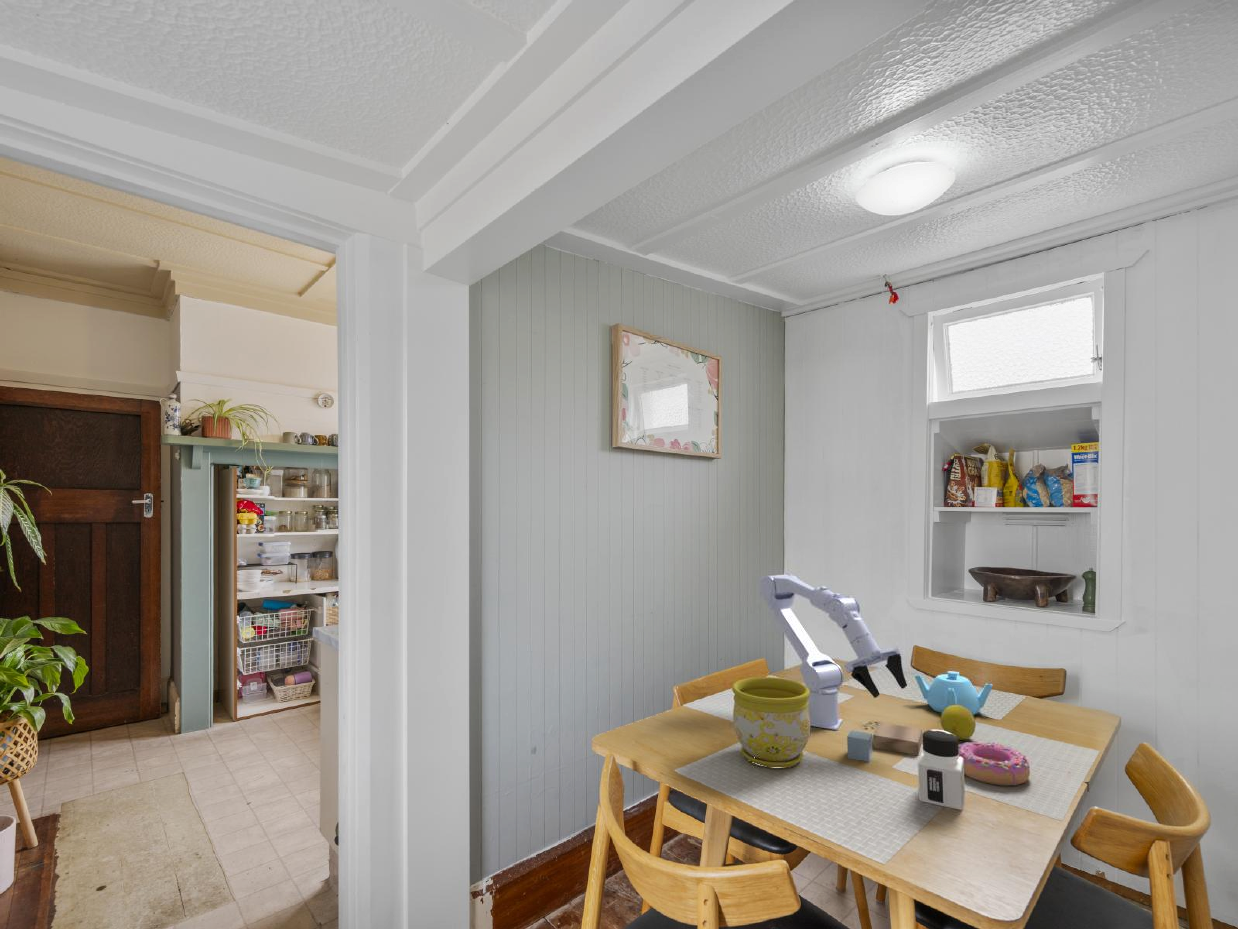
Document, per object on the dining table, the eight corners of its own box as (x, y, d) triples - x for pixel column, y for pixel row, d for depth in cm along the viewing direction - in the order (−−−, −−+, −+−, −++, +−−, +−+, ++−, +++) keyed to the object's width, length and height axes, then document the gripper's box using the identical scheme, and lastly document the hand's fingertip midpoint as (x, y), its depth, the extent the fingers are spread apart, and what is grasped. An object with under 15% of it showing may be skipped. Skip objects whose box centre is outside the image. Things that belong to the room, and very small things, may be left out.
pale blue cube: (847, 758, 148) (847, 736, 149) (851, 751, 152) (850, 730, 153) (869, 762, 146) (868, 740, 146) (872, 755, 150) (871, 733, 150)
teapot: (998, 717, 175) (996, 677, 176) (951, 721, 172) (950, 681, 172) (957, 700, 190) (955, 663, 191) (913, 704, 187) (912, 667, 187)
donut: (943, 761, 147) (942, 739, 147) (1006, 761, 146) (1005, 739, 146) (976, 789, 132) (975, 765, 132) (1045, 790, 132) (1044, 765, 132)
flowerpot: (826, 771, 141) (824, 696, 142) (749, 777, 138) (748, 701, 139) (791, 740, 159) (789, 674, 160) (723, 746, 156) (721, 678, 157)
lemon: (970, 748, 153) (969, 714, 154) (936, 740, 159) (934, 707, 159) (981, 735, 161) (980, 704, 162) (948, 728, 167) (947, 697, 167)
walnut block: (873, 747, 154) (873, 735, 154) (879, 734, 163) (878, 722, 163) (918, 755, 149) (918, 742, 149) (922, 741, 158) (921, 729, 158)
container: (962, 811, 123) (960, 743, 123) (918, 801, 127) (916, 735, 128) (965, 795, 129) (962, 730, 130) (923, 786, 133) (921, 723, 134)
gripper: (840, 641, 156) (870, 694, 147) (891, 626, 158) (923, 677, 150) (832, 653, 161) (860, 704, 153) (882, 637, 164) (911, 687, 156)
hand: (891, 691), depth 152 cm, fingers open, 7 cm apart
